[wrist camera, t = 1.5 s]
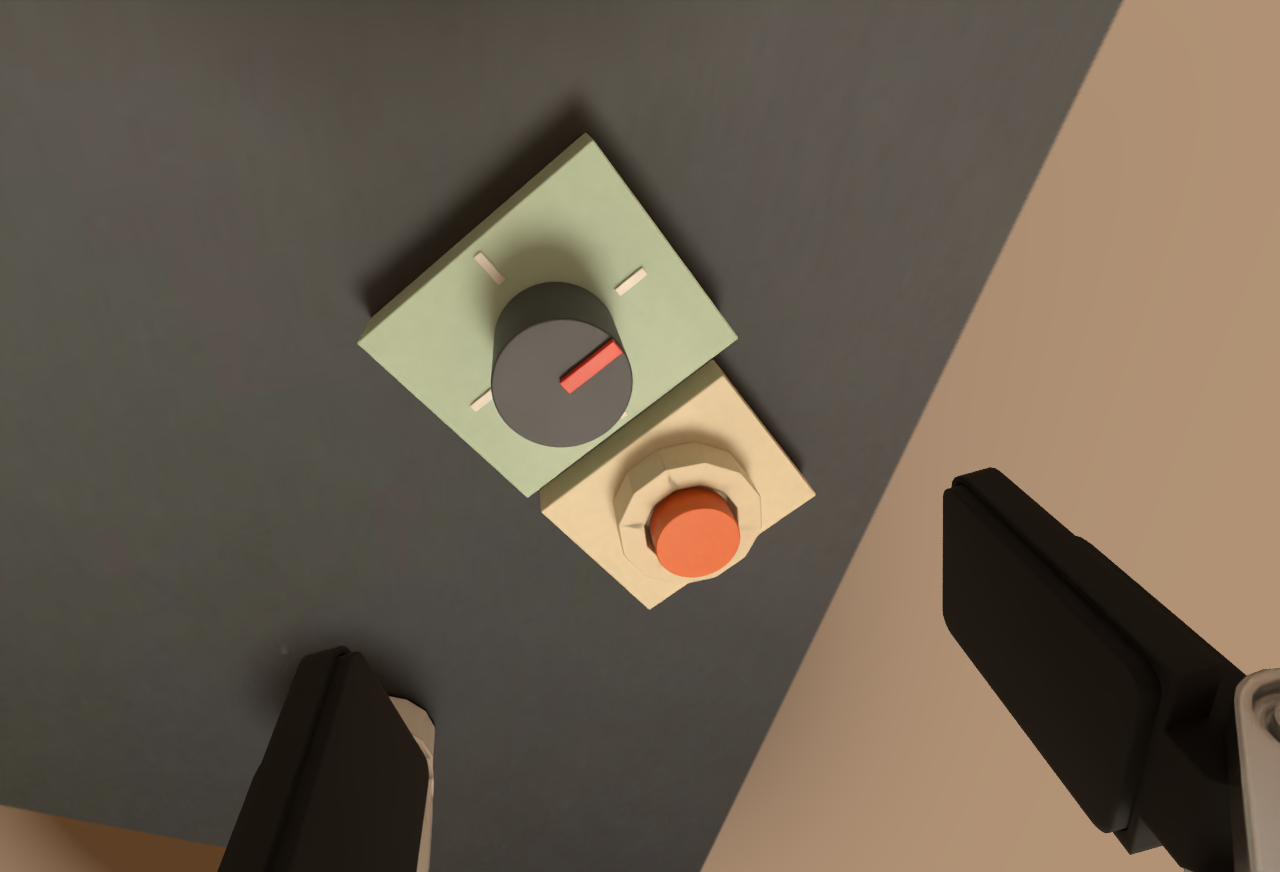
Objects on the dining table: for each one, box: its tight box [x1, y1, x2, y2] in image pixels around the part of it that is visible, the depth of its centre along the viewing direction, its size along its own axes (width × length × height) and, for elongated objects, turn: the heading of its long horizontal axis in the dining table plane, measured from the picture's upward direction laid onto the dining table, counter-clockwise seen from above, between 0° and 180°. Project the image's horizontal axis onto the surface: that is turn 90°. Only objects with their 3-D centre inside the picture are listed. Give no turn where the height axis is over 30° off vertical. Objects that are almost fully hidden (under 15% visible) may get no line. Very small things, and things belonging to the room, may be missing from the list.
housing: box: [540, 360, 816, 609], centre depth 34 cm, size 11×9×4 cm
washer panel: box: [357, 133, 738, 497], centre depth 29 cm, size 12×10×3 cm
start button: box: [650, 488, 740, 578], centre depth 32 cm, size 4×4×2 cm
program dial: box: [491, 282, 633, 447], centre depth 26 cm, size 5×5×5 cm
